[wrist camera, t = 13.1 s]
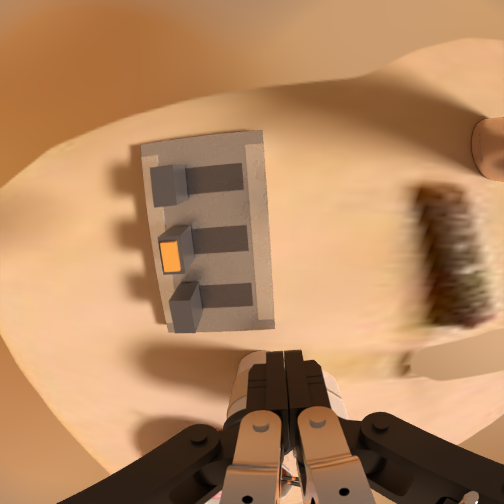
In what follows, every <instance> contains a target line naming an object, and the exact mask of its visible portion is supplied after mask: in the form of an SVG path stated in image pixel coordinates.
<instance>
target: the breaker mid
mask: <svg viewBox="0 0 504 504" xmlns="http://www.w3.org/2000/svg"><path fill="white" fill-rule="evenodd" d="M157 238H158V245H159V251H160V258H161V264H162V270H163V275H171V274H185V273H186V272H187V270H188V269H189V267H190V266H191V264H192V263H193V261H194V259H195V257H194V249H193V241H192V233H191V225H190V226H179V227H170V228H169V229H168V230H166V231H165V232H164V233H162V234H161V235H160V236H158V237H157Z"/></svg>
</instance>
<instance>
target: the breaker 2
mask: <svg viewBox="0 0 504 504" xmlns="http://www.w3.org/2000/svg"><path fill="white" fill-rule="evenodd" d="M169 306H170V311H171V317H172V321H173V326H174V331H175V333H196V330H197V328H198V325H199V322H200V319H201V316H202V314H203V310H202V304H201V297H200V290H199V283H186V284H179V285H178V287H177V288H176V290H175V292H174V293H173V295H172V296H171V298H170V300H169Z"/></svg>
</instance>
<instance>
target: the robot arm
mask: <svg viewBox="0 0 504 504" xmlns="http://www.w3.org/2000/svg"><path fill="white" fill-rule="evenodd" d="M472 154H473V158H474V161H475V163H476V166H477V167H478V169H479V171H480V172H481V173H482V174H483V175H484V176H485V177H486V178H488V179H491V180H496V181H502V182H504V117H500V118H491V119H484V120H481V121H480V122H479V123H478V124H477V125H476V127H475V128H474V131H473V135H472ZM284 364H285V368H284ZM247 388H248V389H247V400H246V414H245V417H244V418H243V419H242V421H241V423H239V424H238V425H237V426H235V427H233V428H230V429H226V430H222V431H218V432H217V430H216V429H215V428H213V427H211V426H209V425H205V424H197V425H192V426H189V427H187V428H186V429H184V430H183V431H181V432H180V433H178V434H177V435H175V436H174V437H172V438H171V439H169V440H168V441H166V442H165V443H163V444H162V445H160V446H158V447H157V448H155V449H154V450H152V451H151V452H149V453H147V454H146V455H144V456H143V457H141V458H139V459H138V460H136V461H134V462H133V463H131V464H129V465H128V466H126V467H124V468H123V469H121V470H119V471H118V472H116V473H114V474H112V475H111V476H109V477H107V478H106V479H103V480H102V481H100V482H98V483H96V484H94V485H92V486H91V487H89V488H87V489H85V490H83V491H81V492H79V493H77V494H75V495H73V496H71V497H69V498H67V499H65V500H63V501H61V502H59V503H57V504H205V503H206V502H207V501H209V500H210V499H211V498H213V497H214V496H215V495H216V494H217V493H219V492H220V491H221V490H222V494H221V498H220V503H219V504H280V493H281V477H282V463H283V460H284V449H285V448H288V428H289V441H290V448H296V465H297V471H298V476H299V481H300V487H301V492H302V497H303V504H376V503H375V500H374V497H373V494H372V492H371V489H373V490H375V491H376V492H378V493H380V494H381V495H383V496H385V497H386V498H388V499H390V500H392V501H393V502H395V503H397V504H504V465H503V464H500V463H497V462H495V461H493V460H490V459H488V458H485V457H483V456H480V455H478V454H475V453H473V452H471V451H468V450H466V449H464V448H461V447H459V446H457V445H455V444H452V443H450V442H448V441H446V440H443V439H441V438H439V437H437V436H435V435H433V434H430V433H428V432H426V431H424V430H422V429H420V428H418V427H416V426H414V425H412V424H410V423H408V422H405V421H403V420H401V419H399V418H397V417H395V416H394V415H392V414H389V413H386V412H375V413H372V414H369V415H367V416H366V417H365V418H364V419H363V420H362V421H354V420H347V419H343V418H341V417H339V416H337V415H336V413H335V412H334V411H333V410H332V408H331V405H330V401H329V397H328V392H327V388H326V385H325V381H324V377H323V373H322V369H321V366H320V365H319V364H318V363H317V362H316V361H315V360H307V361H303V356H302V351H301V350H288V351H284V357H283V351H274V352H266V363H265V364H254V365H253V366H252V368H251V369H250V370H249V372H248V386H247ZM370 488H371V489H370Z"/></svg>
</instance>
